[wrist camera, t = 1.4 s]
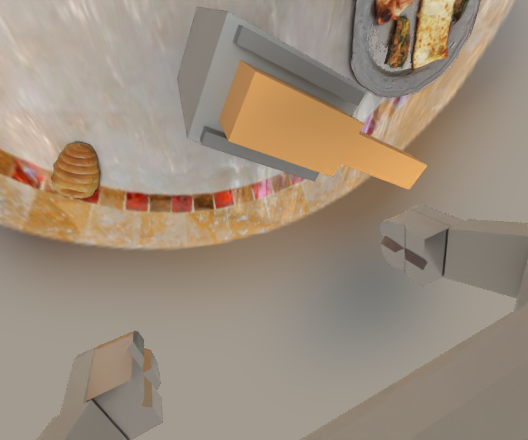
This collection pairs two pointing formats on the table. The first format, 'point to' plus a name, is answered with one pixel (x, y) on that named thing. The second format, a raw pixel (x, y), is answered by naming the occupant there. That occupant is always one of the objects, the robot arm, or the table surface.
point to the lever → (307, 130)
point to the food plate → (422, 42)
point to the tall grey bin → (223, 71)
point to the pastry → (76, 171)
